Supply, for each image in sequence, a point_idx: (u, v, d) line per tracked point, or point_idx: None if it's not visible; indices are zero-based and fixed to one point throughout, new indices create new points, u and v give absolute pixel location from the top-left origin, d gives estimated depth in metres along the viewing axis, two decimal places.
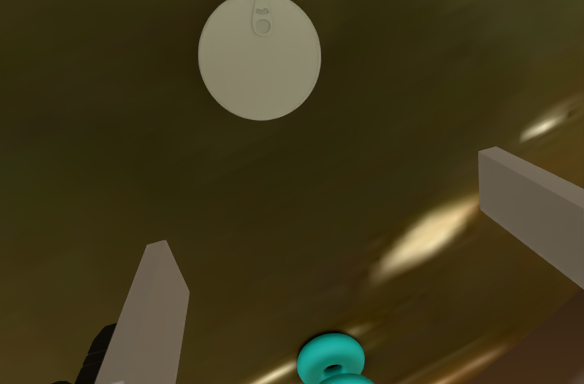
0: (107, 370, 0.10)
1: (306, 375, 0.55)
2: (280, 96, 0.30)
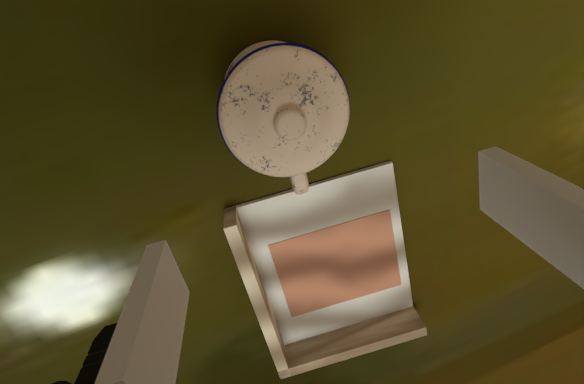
0: (107, 370, 0.10)
1: None
2: None
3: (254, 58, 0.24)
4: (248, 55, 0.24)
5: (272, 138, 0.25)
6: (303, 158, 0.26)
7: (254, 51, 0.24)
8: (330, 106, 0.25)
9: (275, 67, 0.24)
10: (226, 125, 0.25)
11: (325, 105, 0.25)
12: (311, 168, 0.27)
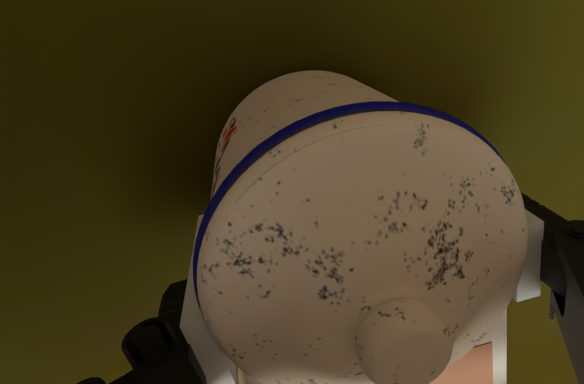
0: (189, 312, 0.11)
1: None
2: None
3: (298, 151, 0.08)
4: (280, 137, 0.09)
5: (344, 363, 0.09)
6: None
7: (297, 126, 0.09)
8: (492, 267, 0.10)
9: (359, 177, 0.08)
10: (218, 316, 0.09)
11: (485, 268, 0.09)
12: None
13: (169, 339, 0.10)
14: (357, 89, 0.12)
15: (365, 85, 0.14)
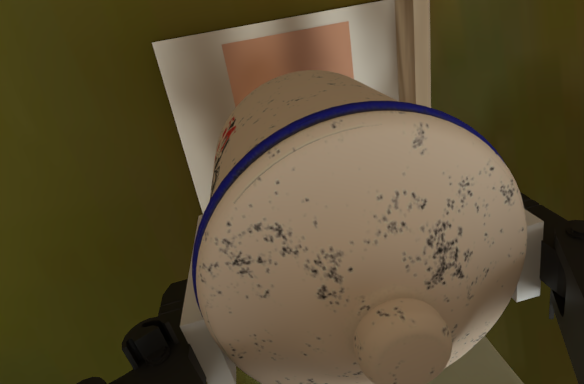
0: (189, 312, 0.11)
1: None
2: None
3: (297, 150, 0.08)
4: (279, 137, 0.09)
5: (343, 363, 0.09)
6: None
7: (296, 126, 0.09)
8: (492, 267, 0.10)
9: (359, 176, 0.08)
10: (217, 316, 0.09)
11: (484, 267, 0.09)
12: None
13: (169, 339, 0.10)
14: (356, 89, 0.12)
15: (364, 85, 0.14)
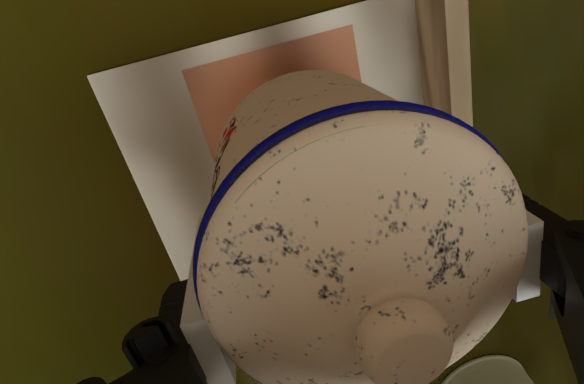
0: (189, 312, 0.11)
1: None
2: None
3: (299, 150, 0.08)
4: (280, 137, 0.09)
5: (344, 363, 0.09)
6: None
7: (297, 125, 0.09)
8: (492, 267, 0.10)
9: (360, 176, 0.08)
10: (218, 316, 0.09)
11: (485, 267, 0.09)
12: None
13: (169, 339, 0.10)
14: (357, 88, 0.12)
15: (365, 84, 0.14)
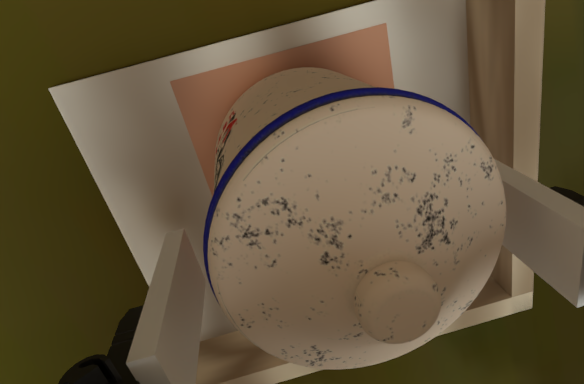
0: (138, 346, 0.10)
1: None
2: None
3: (300, 131, 0.09)
4: (283, 121, 0.10)
5: (345, 325, 0.10)
6: None
7: (298, 110, 0.10)
8: (475, 236, 0.11)
9: (355, 154, 0.09)
10: (228, 287, 0.10)
11: (468, 236, 0.10)
12: (411, 350, 0.13)
13: (111, 377, 0.09)
14: (349, 81, 0.13)
15: None
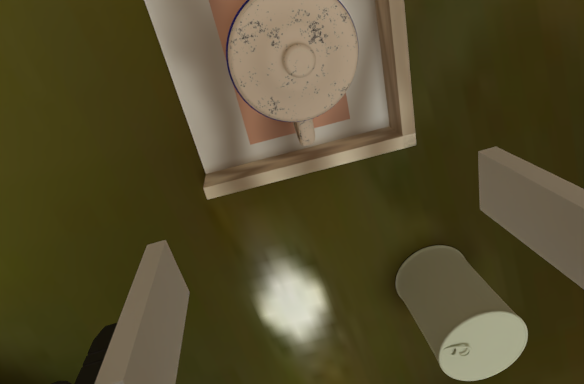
0: (107, 370, 0.10)
1: None
2: (512, 334, 0.38)
3: None
4: None
5: (281, 77, 0.25)
6: (310, 100, 0.27)
7: None
8: (339, 47, 0.25)
9: (285, 3, 0.24)
10: (235, 63, 0.25)
11: (334, 45, 0.25)
12: (318, 113, 0.27)
13: None
14: None
15: None
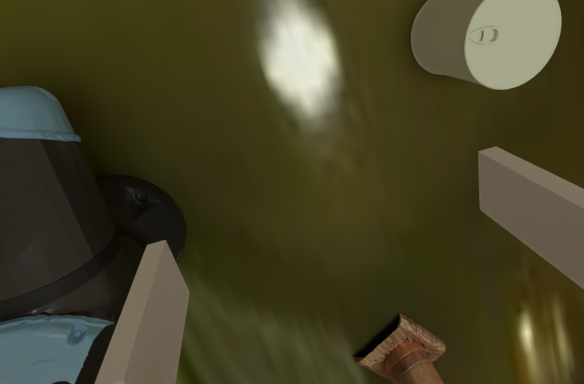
0: (107, 370, 0.10)
1: None
2: (545, 19, 0.34)
3: None
4: None
5: None
6: None
7: None
8: None
9: None
10: None
11: None
12: None
13: None
14: None
15: None
